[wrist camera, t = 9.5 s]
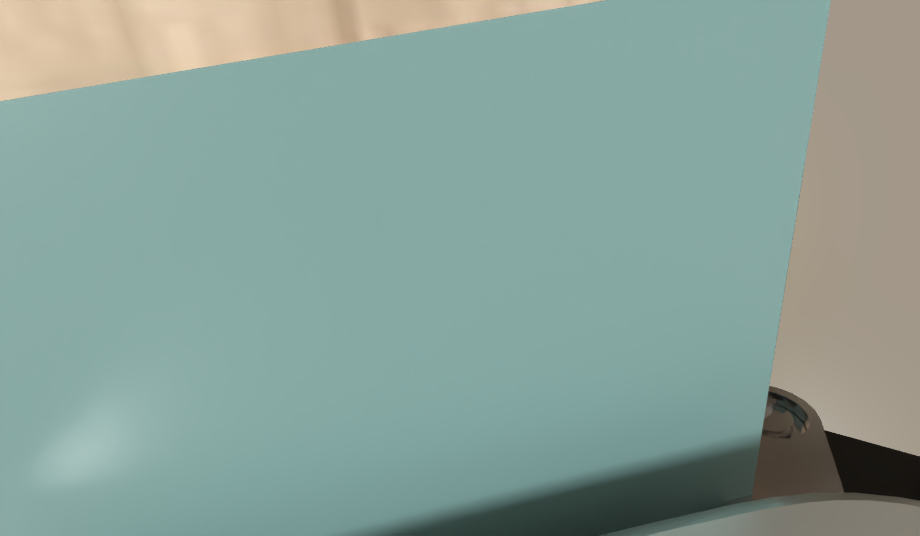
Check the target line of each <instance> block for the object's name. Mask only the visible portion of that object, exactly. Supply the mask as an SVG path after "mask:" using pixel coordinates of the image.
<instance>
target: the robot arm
mask: <svg viewBox="0 0 920 536" xmlns="http://www.w3.org/2000/svg"><path fill="white" fill-rule="evenodd" d="M600 536H920V456H916V455H912V454H908V453H905V452H901V451H897V450H894V449H891V448H887V447H883V446H880V445H876V444H872V443H869V442H865V441H861V440H858V439H854V438H851V437H847V436H843V435H840V434H836V433H832V432H829V431H825V430H824V428H823V425H822V422H821V420H820V418H819V416H818V414H817V413H816V411H815V410H814V409H813V408H812V407H811V406H810V405H809V404H808V403H807V402H806V401H804V400H803V399H801V398H799V397H797V396H796V395H794V394H792V393H790V392H787V391H785V390H782V389H779V388H776V387H771V386H769V391H768V397H767V403H766V410H765V416H764V422H763V428H762V435H761V441H760V447H759V453H758V460H757V466H756V472H755V479H754V485H753V491H752V495H748V496H744V497H740V498H736V499H732V500H728V501H727V504H726V506H723V507H719V508H714V509H710V510H706V511H701V512H697V513H692V514H688V515H684V516H679V517H675V518H671V519H666V520H662V521H658V522H653V523H649V524H645V525H640V526H636V527H632V528H628V529H624V530H620V531H616V532H612V533H608V534H604V535H600Z"/></svg>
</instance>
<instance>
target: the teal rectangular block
mask: <svg viewBox="0 0 920 536" xmlns="http://www.w3.org/2000/svg"><path fill="white" fill-rule="evenodd" d="M830 2H831V0H606V1H600V2H594V3H588V4H582V5H576V6H570V7H564V8H558V9H552V10H546V11H540V12H534V13H528V14H522V15H516V16H510V17H504V18H498V19H492V20H486V21H480V22H474V23H468V24H462V25H456V26H450V27H444V28H438V29H432V30H426V31H420V32H414V33H408V34H402V35H396V36H390V37H384V38H378V39H372V40H366V41H360V42H354V43H348V44H342V45H336V46H330V47H324V48H318V49H312V50H306V51H300V52H294V53H288V54H282V55H276V56H270V57H264V58H258V59H252V60H246V61H240V62H234V63H228V64H222V65H216V66H210V67H204V68H198V69H192V70H186V71H180V72H174V73H168V74H162V75H156V76H150V77H144V78H138V79H132V80H126V81H120V82H114V83H108V84H102V85H96V86H90V87H84V88H78V89H72V90H66V91H60V92H54V93H48V94H42V95H36V96H30V97H24V98H18V99H12V100H6V101H0V536H600V535H604V534H608V533H612V532H616V531H620V530H624V529H628V528H632V527H636V526H640V525H645V524H649V523H653V522H658V521H662V520H666V519H671V518H675V517H679V516H684V515H688V514H692V513H697V512H701V511H706V510H710V509H714V508H719V507H723V506H726V504H727V501H728V500H732V499H736V498H740V497H744V496H748V495H752V491H753V485H754V479H755V472H756V466H757V460H758V453H759V447H760V441H761V435H762V428H763V422H764V416H765V410H766V403H767V397H768V391H769V384H770V378H771V372H772V366H773V358H774V353H775V347H776V340H777V333H778V328H779V321H780V315H781V309H782V303H783V296H784V290H785V284H786V278H787V271H788V265H789V259H790V252H791V246H792V240H793V234H794V227H795V221H796V215H797V209H798V202H799V196H800V190H801V183H802V177H803V171H804V165H805V158H806V152H807V146H808V140H809V133H810V127H811V121H812V114H813V108H814V101H815V96H816V89H817V82H818V77H819V71H820V64H821V58H822V52H823V46H824V38H825V33H826V27H827V20H828V14H829V8H830Z"/></svg>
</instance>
